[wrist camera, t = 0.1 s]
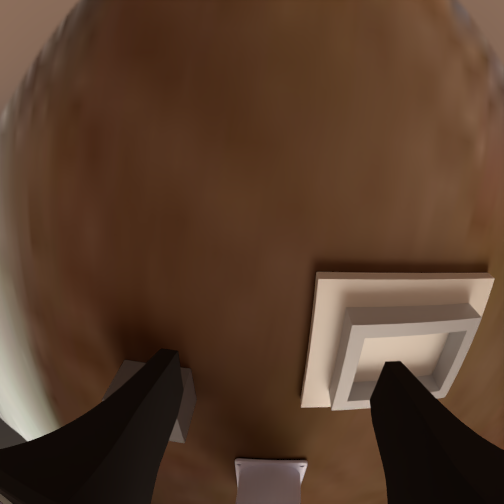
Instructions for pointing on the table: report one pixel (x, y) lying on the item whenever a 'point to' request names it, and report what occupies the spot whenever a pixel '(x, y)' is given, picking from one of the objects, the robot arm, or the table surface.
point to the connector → (187, 401)
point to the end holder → (389, 331)
